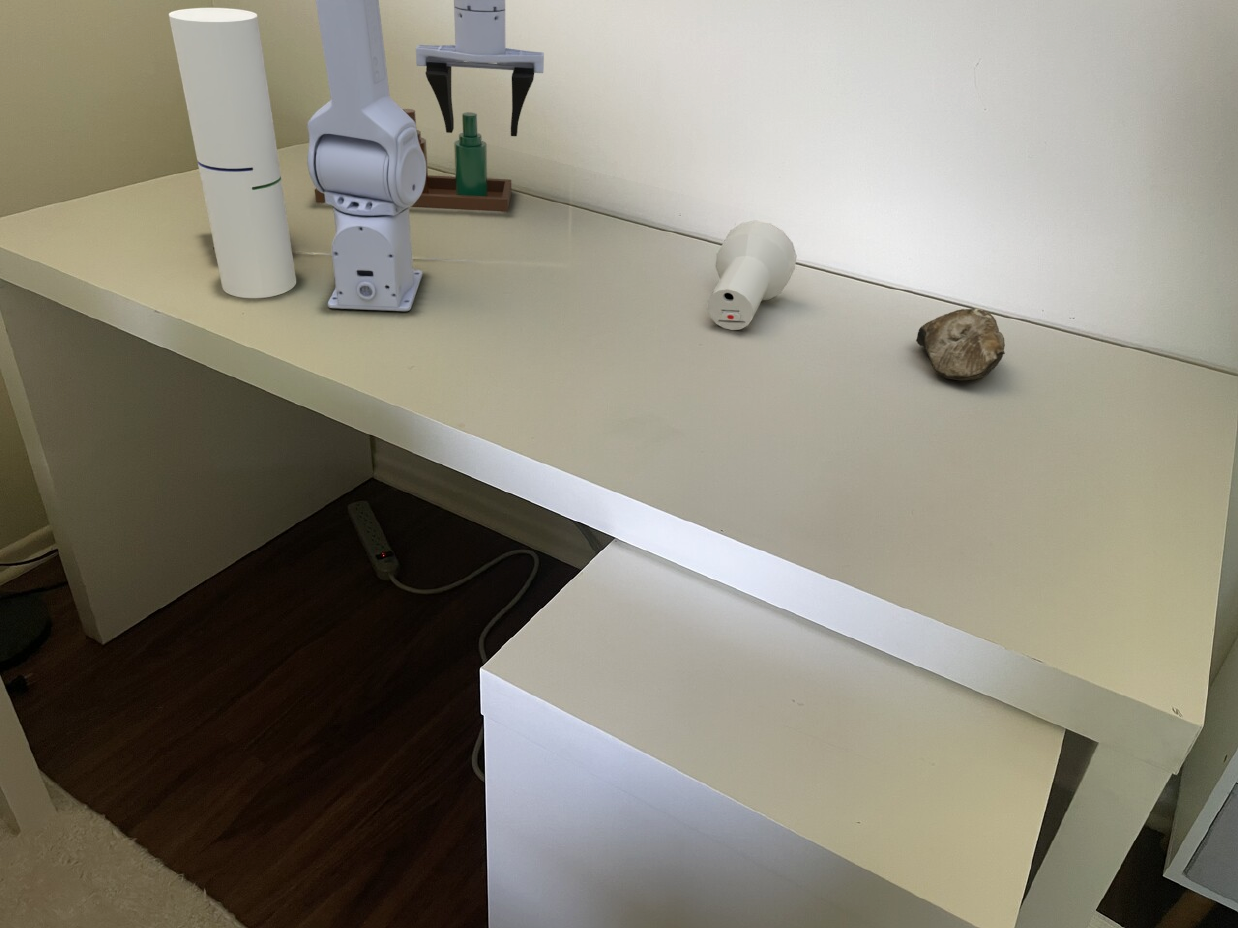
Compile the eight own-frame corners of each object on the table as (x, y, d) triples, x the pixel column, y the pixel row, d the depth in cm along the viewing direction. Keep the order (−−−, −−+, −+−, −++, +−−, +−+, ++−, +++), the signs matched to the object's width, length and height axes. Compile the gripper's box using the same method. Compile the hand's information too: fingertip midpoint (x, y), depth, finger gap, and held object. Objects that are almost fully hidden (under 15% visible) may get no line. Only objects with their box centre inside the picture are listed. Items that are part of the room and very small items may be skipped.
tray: (507, 215, 115) (507, 199, 113) (316, 205, 113) (314, 190, 112) (511, 194, 121) (511, 179, 120) (330, 185, 120) (329, 170, 118)
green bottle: (486, 204, 116) (484, 119, 110) (454, 203, 116) (451, 117, 110) (488, 194, 119) (487, 111, 113) (457, 193, 119) (454, 109, 113)
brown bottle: (426, 202, 115) (422, 115, 109) (394, 200, 115) (388, 113, 109) (431, 191, 119) (426, 107, 113) (399, 190, 118) (393, 105, 112)
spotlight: (800, 286, 98) (795, 218, 93) (772, 347, 91) (765, 277, 85) (728, 284, 101) (720, 217, 96) (696, 342, 94) (685, 274, 89)
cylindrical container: (218, 274, 94) (166, 8, 80) (290, 266, 97) (251, 8, 83) (226, 302, 89) (171, 22, 75) (301, 293, 92) (262, 22, 78)
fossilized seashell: (1018, 376, 82) (1005, 346, 90) (996, 308, 80) (985, 284, 89) (933, 403, 85) (929, 371, 93) (910, 338, 83) (908, 311, 92)
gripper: (545, 6, 106) (543, 127, 114) (419, -2, 105) (425, 120, 113) (543, 16, 100) (541, 142, 108) (410, 8, 99) (417, 136, 107)
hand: (482, 132), depth 110 cm, fingers open, 7 cm apart
